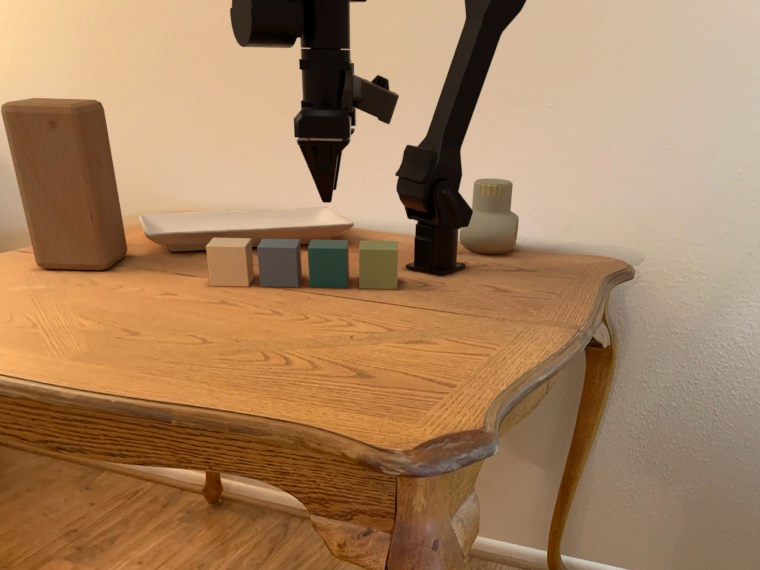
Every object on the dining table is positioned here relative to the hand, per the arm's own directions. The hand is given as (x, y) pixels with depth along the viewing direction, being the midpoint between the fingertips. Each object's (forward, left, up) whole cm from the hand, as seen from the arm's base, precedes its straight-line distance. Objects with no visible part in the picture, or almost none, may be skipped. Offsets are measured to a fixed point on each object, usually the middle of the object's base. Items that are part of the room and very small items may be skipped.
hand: (329, 195), depth 97 cm
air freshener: (-31, +6, -11) cm, 33 cm away
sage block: (-4, +5, -11) cm, 12 cm away
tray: (-11, -27, -11) cm, 31 cm away
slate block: (+4, -5, -11) cm, 13 cm away
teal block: (0, 0, -11) cm, 11 cm away
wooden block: (+14, -34, -11) cm, 38 cm away
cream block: (+8, -11, -11) cm, 17 cm away
